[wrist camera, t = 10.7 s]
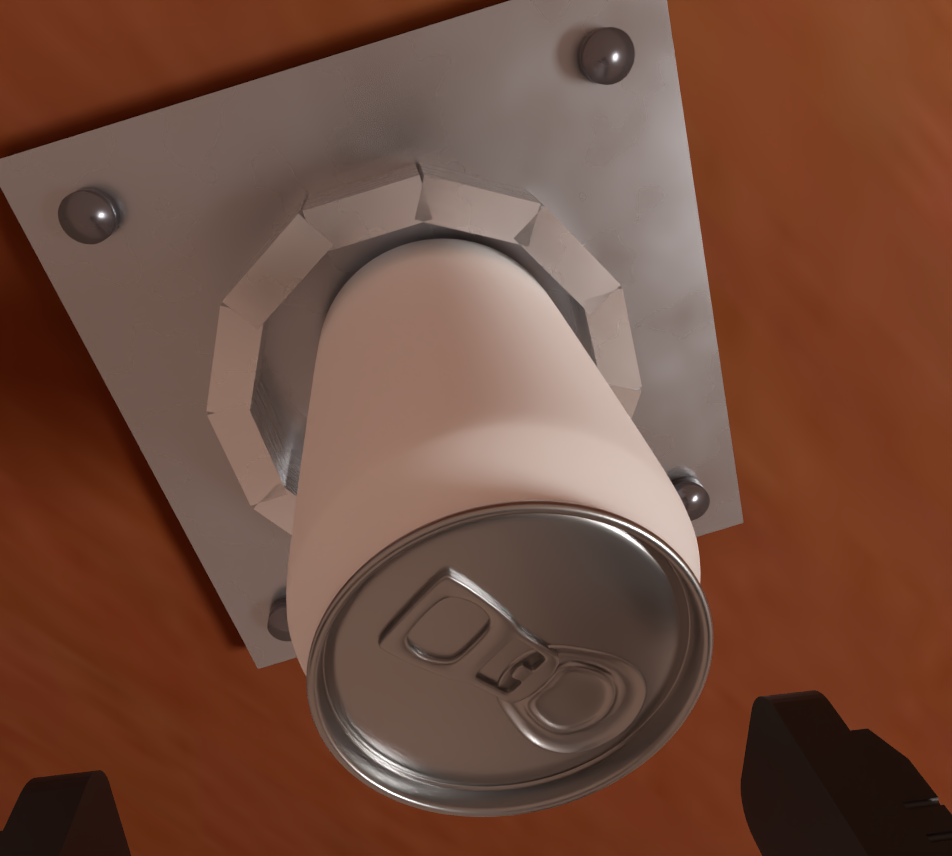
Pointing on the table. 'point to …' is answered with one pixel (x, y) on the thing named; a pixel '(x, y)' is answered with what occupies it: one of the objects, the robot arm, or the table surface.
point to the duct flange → (380, 250)
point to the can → (484, 547)
